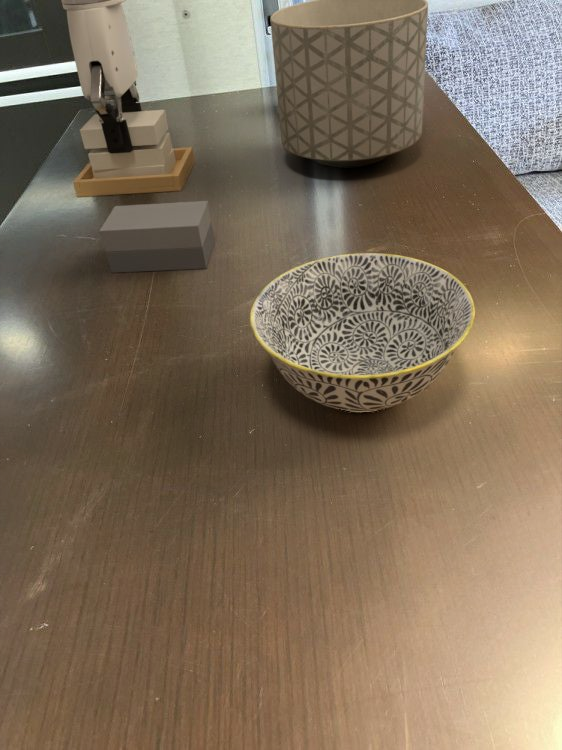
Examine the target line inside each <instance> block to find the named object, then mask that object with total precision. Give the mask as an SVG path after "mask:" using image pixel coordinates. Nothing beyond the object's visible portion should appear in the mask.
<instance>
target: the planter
mask: <svg viewBox="0 0 562 750" xmlns="http://www.w3.org/2000/svg"><path fill="white" fill-rule="evenodd" d="M428 15H429V2H428V1H427V0H307V1H303V2H299V3H295V4H292V5H289V6H286V7H282V8H281V9H278V10H276V11H274V12H273V13H272V14H271V15H270V18H269V19H270V30H271V31H270V32H271V41H272V52H273V53H272V54H273V62H274V63H273V64H274V73H275V74H274V75H275V87H276V95H277V96H276V97H277V107H278V118H279V119H278V120H279V129H280V138H281V139H280V140H281V141H280V142H281V144H282V146H283V148H284V149H285V150H286V151H288V152H289V153H291V154H292V155H295V156H298V157H301V158H305V159H308V160H311V161H314V162H316V163H318V164H321V165H324V166H329V167H333V168H340V169H341V168H342V169H349V168H350V169H353V168H360V167H364V166H368V165H372V164H375V163H378V162H380V161H382V160H385V159H386V158H388V157H390V156H392V155H393V154H396V153H399V152H401V151H404V150H406V149H408V148H409V147H411V146H413V145H414V144H416V143H417V142H418V141H419V140H420V139H421V137H422V135H423V134H422V133H423V119H424V118H423V117H424V96H425V95H424V94H425V78H426V77H425V76H426V56H427V55H426V53H427V36H428Z"/></svg>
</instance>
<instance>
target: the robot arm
mask: <svg viewBox="0 0 562 750" xmlns="http://www.w3.org/2000/svg"><path fill="white" fill-rule="evenodd" d="M126 1H127V0H61V4H62V8H63V10H65V11H66V17H67V18H66V19H67V26H68V33H69V39H70V45H71V49H72V53H73V57H74V63H75V67H76V72H77V76H78V80H79V84H80V89H81V92H82V95H83V97H84V98H85V100H89V101H90V103H91V105H92V106H93V107H94V109H95V112H96V114H98V116H99V121H100V123H101V125H102V129H103V133H104V137H105V141H106V144H107V148H108V152H109V153H111V154H113V153H129V152H131V151H132V150H133V147H132V143H131V139H130V134H129V130H128V126H127V122H126V120H123V116H122V113H124V112H139V111H143V109H142V105H141V102H140V94H139V92H138V89H137V79H138V75H139V73H138V66H137V65H138V64H137V60H136V55H135V50H134V47H133V41H132V38H131V34H130V33H131V32H130V30H129V26H128V22H127V19H126V14H125V10H124V8H123V4H122V3H125V2H126ZM112 91H113V92H112ZM105 92H112V94H105ZM108 102H113V105H112V104H111V103H108Z"/></svg>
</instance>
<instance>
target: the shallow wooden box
mask: <svg viewBox="0 0 562 750" xmlns="http://www.w3.org/2000/svg"><path fill="white" fill-rule="evenodd" d="M172 148H173V149H174V154H175V159H176V165H175V167H174V169H173V171H172V172H171V174H162V175H146V176H130V177H115V178H99V179H94V175H93V172H92V166H91V163H90V161H88V163H87V164H86V165H85V166H84V168H83V169H82V170H81V171H80V173H79V174H78V175H77V176H76V177H75V179H73V181H72V185H73V189H74V191H75V194H76V197H77V198H81V197H99V196H115V195H129V194H131V195H133V194H146V193H147V194H148V193H164V192H165V193H167V192H180V191H182V190H183V188H184V186H185V184H186V181H187V179H188V177H189V175H190V173H191V171H192V168H193V167H194V165H195V162H196V158H195V152H194V148H193V147H192V146H189V147H172Z"/></svg>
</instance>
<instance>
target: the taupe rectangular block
mask: <svg viewBox="0 0 562 750" xmlns="http://www.w3.org/2000/svg"><path fill="white" fill-rule="evenodd" d="M132 147H133V150H132V151H131V152H129V153H113V154H111V153H109V152H108V148H95V149H90V152H89V153H88V154H87V156H88V159H89V162H90V163H91V166H92V172H93V175H94V179H99V178H115V177H130V176H146V175H162V174H171V172H172V171H173V169H174V167H175V165H176V159H175V154H174V149H173V148H174V147H173V144H172V138H171V133H170V131H166V133H165V134H164V136H163V138H162V139H161V141H160V142H159V144H158V145H143V146H132Z"/></svg>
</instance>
